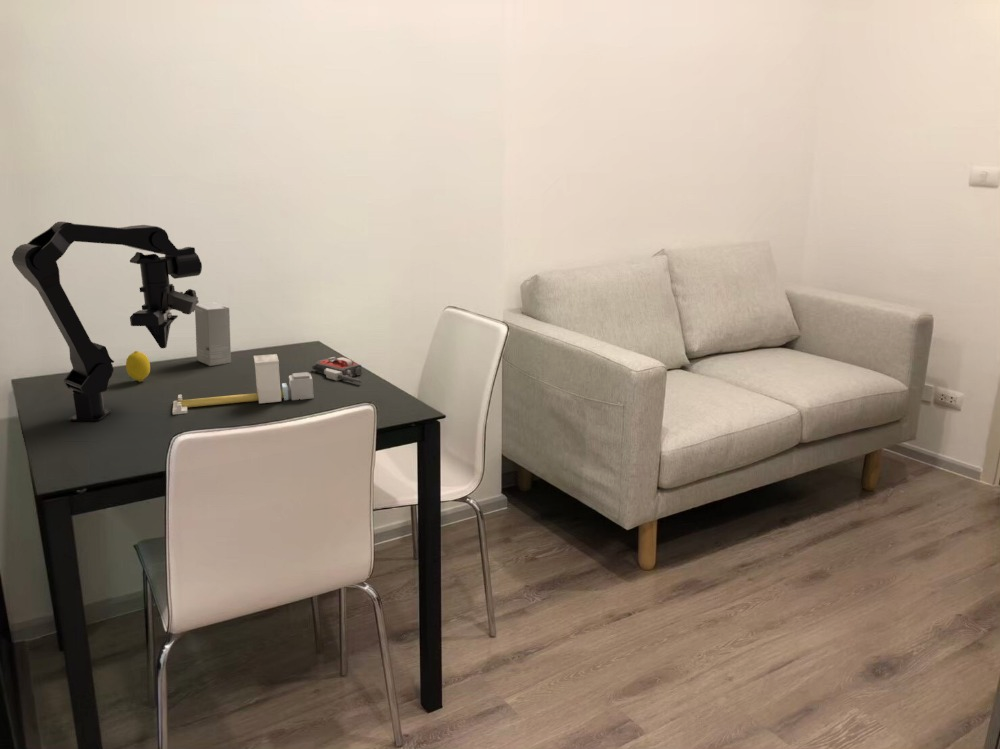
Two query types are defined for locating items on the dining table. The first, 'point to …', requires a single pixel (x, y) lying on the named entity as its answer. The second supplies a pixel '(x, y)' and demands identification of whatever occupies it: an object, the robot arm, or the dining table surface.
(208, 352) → the skincare box
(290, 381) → the grey plastic block
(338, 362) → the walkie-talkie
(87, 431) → the dining table surface
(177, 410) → the wooden handled rake
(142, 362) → the lemon
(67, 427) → the dining table surface
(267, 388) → the white lidded box
